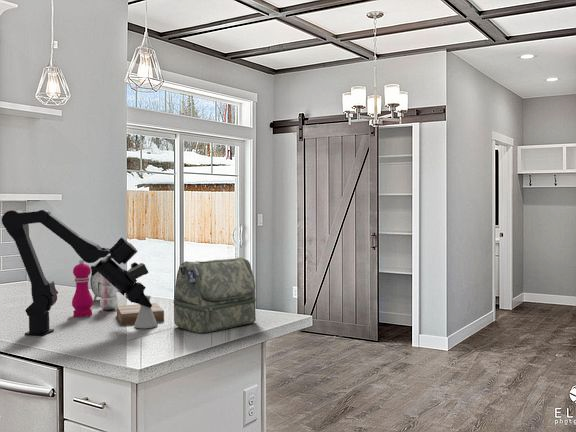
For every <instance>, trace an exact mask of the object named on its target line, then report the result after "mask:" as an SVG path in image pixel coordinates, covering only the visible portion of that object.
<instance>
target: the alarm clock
mask: <svg viewBox="0 0 576 432" xmlns="http://www.w3.org/2000/svg"><path fill="white" fill-rule="evenodd" d="M96 264H97V263H96ZM96 264H95V263H94V265H93V266H95V265H96ZM89 282H90V288H91V291H92V293H93V295H94V298H93V300H96V299H97V297H98V298H101V278H100V274H99V273H98V272H97V273H96V274H95V275H94V276H92V275H91V274H90V278H89Z"/></svg>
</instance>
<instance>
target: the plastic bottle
mask: <svg viewBox="0 0 576 432" xmlns="http://www.w3.org/2000/svg"><path fill="white" fill-rule="evenodd" d="M109 256H110V255H107V256H106V257H103V258H102V260H105V259H106V258H108V257H109ZM111 259H112V260H113V261H114V259H113V258H111ZM100 278H101V297H100V301H99V305H100V308H101V310H106V311H111V310H116V309H117V306H119V300H118V295H117V288H115V287H114V286H113V285H112V284H111V283H110V282H109V281H107V280H106V279H105V278H104V277H103V276H102V275H101V274H100Z"/></svg>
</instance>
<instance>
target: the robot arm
mask: <svg viewBox="0 0 576 432" xmlns="http://www.w3.org/2000/svg"><path fill="white" fill-rule="evenodd" d="M39 223H40V224H41V225H42V226H44V227H46V228H47V229H48V230H50V232H52V233H53V234H55V235H57V237H59V239H61V240H62V241H63V242H65V243H66V244H68V245H69V246H70V247H71V248H72V249H73V250H74V252H75V253H76V255H78V256H79V257H80V259H81V260H84V263H86V264H94V265H95V263H96V262H97V261H98V260H100V261H98V262H97V263H96V265H95V266H94V265H91V266H90V269H91V273H90V276H91V275H92V276H94V275H95V274H96V273H97V272H98V273H99V274H101V275H102V276H103V277H104V278H105V279H106V280H107V281H109V282H110V283H111V284H112V285H113V286H114V287H115V288H116V290H117V292H118V293H120V294H121V295H122V296H123V297H124V296H125V298H126V299H127V300H128V301H129V302H130V303H133V304H136V305H138V304H140V305H143V306H146V307H149V308H151V307H152V302H151V300H150V301H149V300H148V299H147V297H146V296H145V295H146V294H145V289H146V286H145V285H144V284H142V283H141V281H140V282H137V281H138V280H137V279H139V278H140V277H142V276H144V275H147V274H149V270H148V268H147V266H146V264H145V263H143V262H139V264H138V263H137V262H135V261H134V262H133V263H131V264H130V268H129V269H128V270H125V269H124V268H122V267H121V266H120V265H121V264H123V265H126V264H127V263H128V262H129V261H130V260H131V259H132V257H134V256H135V255H136V254H137V253H138V250H137V248H136V247H135V246H134V245H133V244H132V243H130V242H128V241H127V240H126V239H125V238H123V237H120V238H119V239H118V240H117V242H116V243H115V244H114V245H112V247H111V248H109V247H107V248H106V247H102V246H101V245H99V244H98V243H95V242H94V241H93V240H90V239H87V238H85V237H83V236H81V235H80V234H79V233H77V232H76V231H74V230H73V229H71V228H70V227H69V226H68V225H66V224H65V223H64V222H63V221H61V220H60V219H59V218H57V217H56V216H55V215H53V214H52V213H51V212H50V210H47V209H41V210H37V211H28V212H24V211H22V210H19V209H15V210H14V209H12V210H8V211H6V212H5V213H3V215H2V217H1V224H2V225H3V228H5V230H6V231H7V234H9V236H10V237H11V238H12V239H13V241H14V242H15V245H16V248H17V250H18V254H19V255H20V258H21V261H22V263H23V265H24V268H25V271H26V273H27V276H28V279H29V281H30V285H31V286H30V288H31V298H32V303H30V305H29V306H28V307H26V309H25V313H26V315H27V316H28V329H29V330H28V331H26V332H24V335H26V336H46V335H47V334H49V333H50V334H51V333H53V332H54V331H55V329H54V328H50V311H51V308H52V306H54V305H55V304H56V302H57V301H58V294H59V291H58V290H57V288H56V285H55V282H54V281H51V282H50V281H48V280H47V278H46V276H45V274H44V272H43V269H42V267H41V264H40V261H39V258H38V256H37V253H36V251H35V248H34V245H33V243H32V240H31V238H30V225H31V224H39ZM106 256H109V257H108V258H106V259H105V260H103V257H106ZM111 258H113V260H112V259H111Z"/></svg>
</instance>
